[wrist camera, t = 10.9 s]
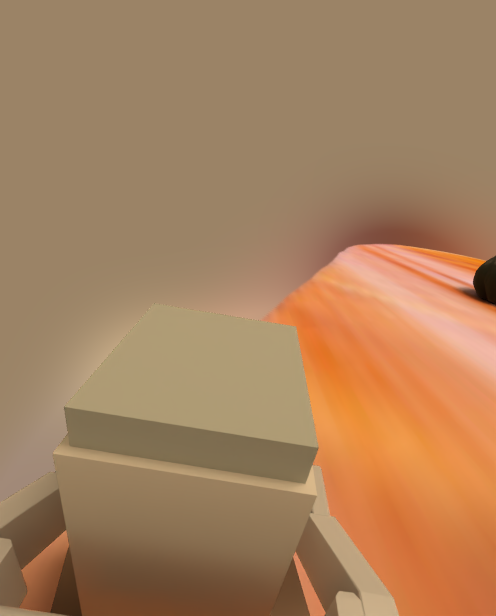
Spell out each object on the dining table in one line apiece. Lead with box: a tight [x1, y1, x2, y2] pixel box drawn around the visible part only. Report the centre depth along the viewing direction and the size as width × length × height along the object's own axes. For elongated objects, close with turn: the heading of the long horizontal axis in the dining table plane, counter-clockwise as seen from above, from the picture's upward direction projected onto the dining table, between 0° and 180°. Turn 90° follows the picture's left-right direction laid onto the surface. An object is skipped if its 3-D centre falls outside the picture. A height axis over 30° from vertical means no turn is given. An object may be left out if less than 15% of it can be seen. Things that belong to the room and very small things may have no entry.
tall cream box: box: [53, 303, 319, 616], centre depth 10 cm, size 5×5×11 cm
